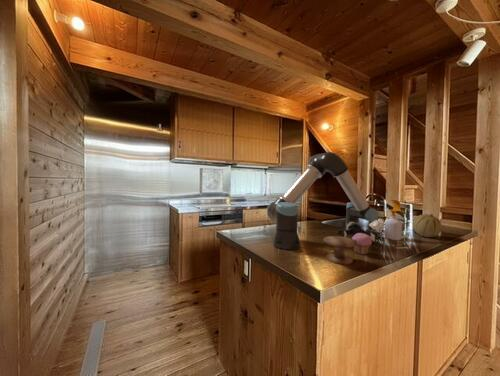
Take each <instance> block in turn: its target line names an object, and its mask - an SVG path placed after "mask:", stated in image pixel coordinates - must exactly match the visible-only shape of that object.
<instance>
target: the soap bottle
mask: <svg viewBox="0 0 500 376" xmlns="http://www.w3.org/2000/svg"><path fill="white" fill-rule="evenodd" d="M389 201H391V202H392V203H393V206H392V207H393V208H392V209H388V212H390V213H391V214H390V215H389V218H388V219H385V221H384V223H385V232H383V233H384V234H383V236H384V238H385V239H387V240H392V241H401V240H403V239H402V236H403V235H402V234H403V232H402V231H403V230H402V229H403V222H402V221H401V220H400V219H398V218H397V217H398V216H397V214H396V213H397V212H400V210H401V202H400V201H399V200H397V199H392V198H391V199H389Z"/></svg>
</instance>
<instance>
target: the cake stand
mask: <svg viewBox="0 0 500 376" xmlns="http://www.w3.org/2000/svg"><path fill="white" fill-rule="evenodd" d="M322 239H323V243H324V244H327V245H329V246H333V248H334V249H333V251H334V252H333V253H330V252H329V253H327V254H326V260H327V261H328V262H331V263H332V264H337V265H351V264H353V263H354V262H353V261H354V259H353V257H352V256H350V255H348V254H346V248H352V247H353V248H354V246H356V245H357V241H356V240H353V239H352V237H351V238H350V237H347V236H346V237H342V236H340V235H339V236H338V235H337V236H336V235H335V236H334V235H330V236H325V237H323V238H322Z"/></svg>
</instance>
